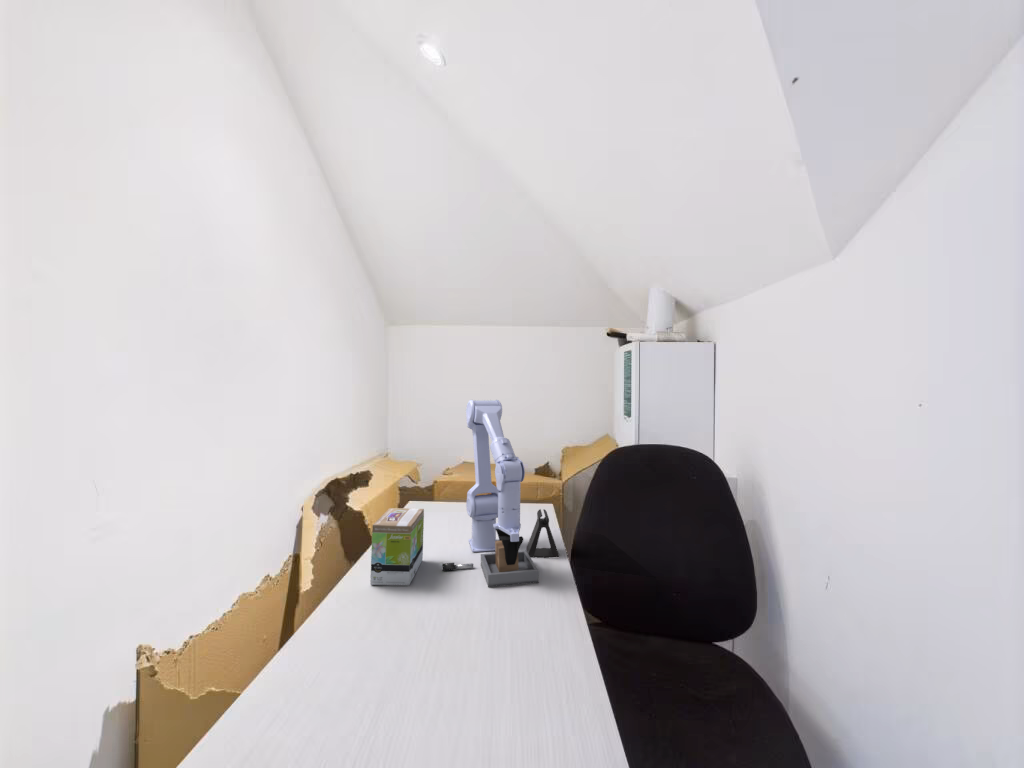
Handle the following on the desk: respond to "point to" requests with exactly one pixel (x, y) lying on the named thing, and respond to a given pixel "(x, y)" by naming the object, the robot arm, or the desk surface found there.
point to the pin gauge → (456, 566)
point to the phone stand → (534, 538)
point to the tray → (522, 576)
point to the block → (503, 559)
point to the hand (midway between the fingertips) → (508, 559)
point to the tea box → (397, 546)
